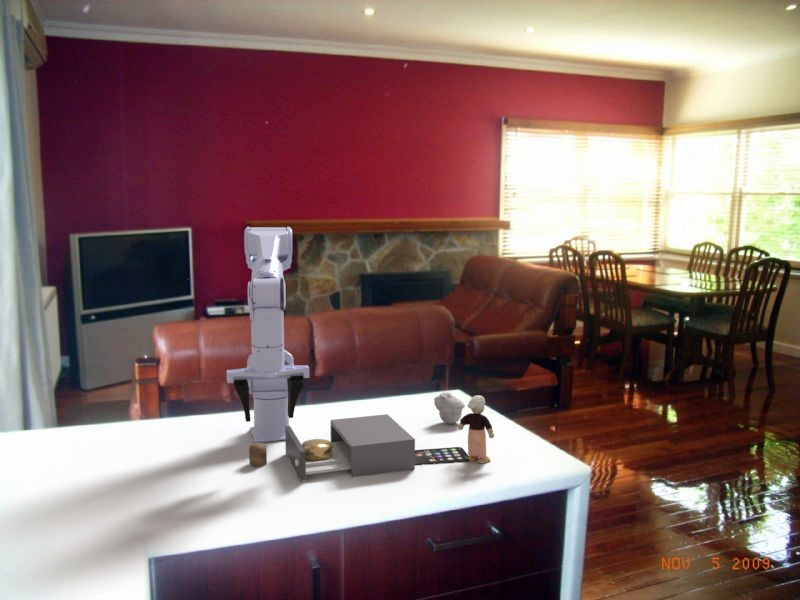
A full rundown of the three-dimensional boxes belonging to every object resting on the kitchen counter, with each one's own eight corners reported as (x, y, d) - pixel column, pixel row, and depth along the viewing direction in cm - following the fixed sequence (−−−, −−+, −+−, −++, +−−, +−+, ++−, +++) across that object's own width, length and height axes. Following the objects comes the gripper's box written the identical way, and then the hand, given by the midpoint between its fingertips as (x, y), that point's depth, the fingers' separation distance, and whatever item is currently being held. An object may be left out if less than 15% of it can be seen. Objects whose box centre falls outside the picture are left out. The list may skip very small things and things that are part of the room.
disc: (299, 452, 131) (299, 440, 131) (328, 449, 133) (328, 437, 133) (304, 463, 126) (304, 450, 126) (334, 460, 128) (334, 447, 127)
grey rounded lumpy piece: (435, 418, 159) (436, 388, 158) (465, 420, 157) (466, 390, 156) (431, 426, 153) (432, 395, 152) (463, 428, 151) (463, 397, 150)
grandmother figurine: (497, 459, 133) (499, 395, 132) (491, 465, 130) (493, 400, 128) (460, 453, 136) (461, 390, 135) (453, 459, 133) (454, 395, 131)
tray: (283, 453, 135) (282, 426, 134) (343, 446, 139) (343, 420, 138) (297, 481, 121) (297, 452, 120) (365, 473, 125) (365, 444, 125)
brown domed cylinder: (248, 461, 131) (248, 443, 131) (265, 459, 132) (265, 442, 132) (250, 467, 128) (250, 449, 128) (268, 465, 129) (267, 447, 129)
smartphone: (388, 451, 136) (461, 446, 139) (388, 455, 136) (461, 449, 139) (395, 465, 129) (472, 459, 132) (395, 469, 129) (472, 463, 132)
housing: (330, 447, 139) (330, 419, 138) (387, 441, 143) (387, 414, 142) (352, 477, 124) (352, 446, 123) (414, 469, 128) (414, 439, 127)
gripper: (227, 351, 118) (229, 428, 120) (312, 347, 122) (312, 421, 124) (225, 343, 124) (227, 416, 126) (305, 339, 129) (306, 410, 131)
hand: (269, 418), depth 125 cm, fingers open, 7 cm apart
